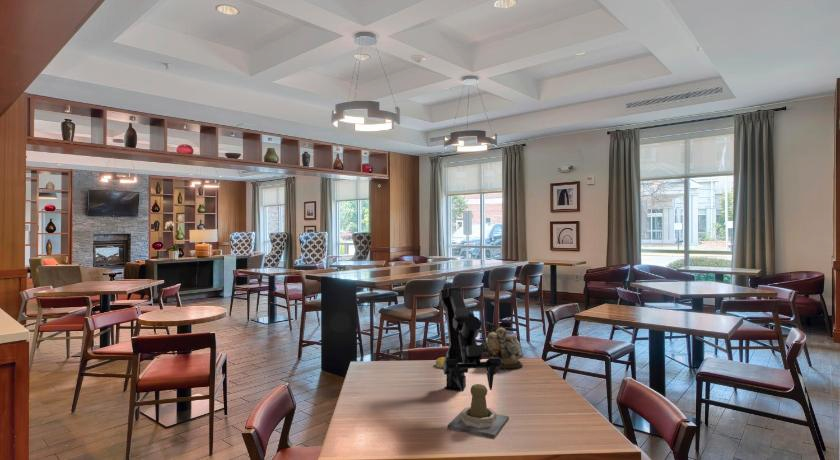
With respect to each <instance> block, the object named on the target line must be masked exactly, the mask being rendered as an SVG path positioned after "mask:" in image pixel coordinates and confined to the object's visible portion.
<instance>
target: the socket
mask: <svg viewBox="0 0 840 460" xmlns="http://www.w3.org/2000/svg"><path fill="white" fill-rule="evenodd" d="M470 409H471V406H469V407H465V408H464V409H462V410H461V411H460V412H459V414H457V415H456V416H455V417H454V418H453V419H452V420H451V421H450V422H449V423H448V424H447V426H446V427H447V429H449V430H453V431H459V432H463V433H469V434H473V435H477V436H483V437H488V438H493V439H495V438H497V436H498V435H499V433H500V432H501V430H503V428H504V427H505V425H506V424H507V423H508V421H509V420H510V416H509V415H503V414H498V413H497V412H496V411H494V410H493V409H492V408H489V407H487V413H488V417H485V418H476V417H470Z"/></svg>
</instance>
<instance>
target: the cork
mask: <svg viewBox="0 0 840 460" xmlns="http://www.w3.org/2000/svg"><path fill="white" fill-rule="evenodd" d="M470 394H471V403H470V407H471V409H470V417H476V418H485V417H488V413H487V408H488V407H487V406H488V405H487V398H486V397H487V394H488V389H487V386H486V385H484V384H482V383H480V384H478V383H476V384H473V385H471V387H470Z"/></svg>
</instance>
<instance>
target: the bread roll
mask: <svg viewBox="0 0 840 460" xmlns="http://www.w3.org/2000/svg"><path fill="white" fill-rule="evenodd" d="M445 358H446V356H445V357H444V356H442V357H438V358H436V360H435V366H436V368H439V369H443V367H444V361H445Z"/></svg>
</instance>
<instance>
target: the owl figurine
mask: <svg viewBox="0 0 840 460" xmlns="http://www.w3.org/2000/svg"><path fill="white" fill-rule="evenodd" d="M486 341H487V342H486V343H487V345H488V353H483V356H487V357H499V358H500V359H501V361H502V366H501V368H500V370H499V371H503V370H504V371H506V370H507V371H511V370H512V371H513V370H519V369H520V368H523V363H522V362H521V361H520V359H522V358H523V357H524V354H522V353H520V352H521V343H520V341H519V340H518V339H517V336H516V335H515V334H510V335H508V336H507V330H506V328H505V327H498V328H497V329H496V330H495V331H491V332H489V333H488V335H487V340H486ZM487 361H488V359H487V360H486V361H485V362H487Z"/></svg>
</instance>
